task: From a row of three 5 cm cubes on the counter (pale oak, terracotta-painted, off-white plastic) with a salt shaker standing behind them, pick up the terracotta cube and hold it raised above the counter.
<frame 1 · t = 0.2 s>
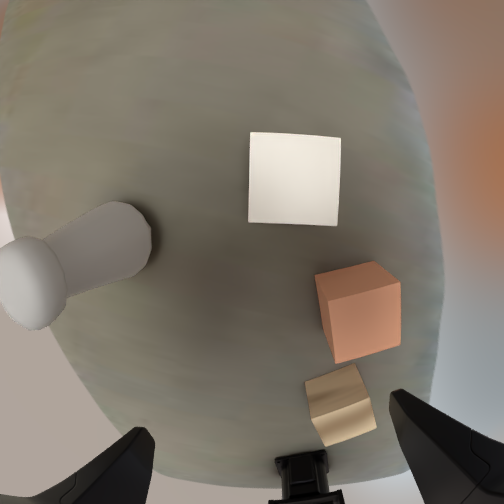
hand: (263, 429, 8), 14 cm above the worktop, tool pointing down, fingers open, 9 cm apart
oak cube: (335, 388, 24), on the worktop
off-white cube: (287, 179, 19), on the worktop
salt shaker: (130, 234, 21), on the worktop
terracotta cube: (348, 296, 22), on the worktop
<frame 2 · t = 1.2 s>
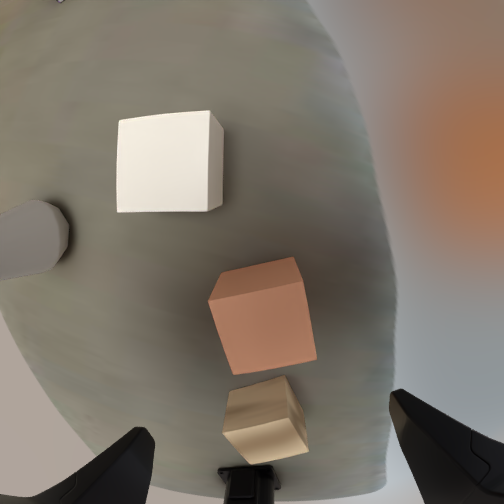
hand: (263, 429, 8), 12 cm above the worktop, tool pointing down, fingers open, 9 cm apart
oak cube: (267, 401, 22), on the worktop
off-white cube: (186, 167, 18), on the worktop
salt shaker: (55, 230, 19), on the worktop
terracotta cube: (265, 297, 19), on the worktop
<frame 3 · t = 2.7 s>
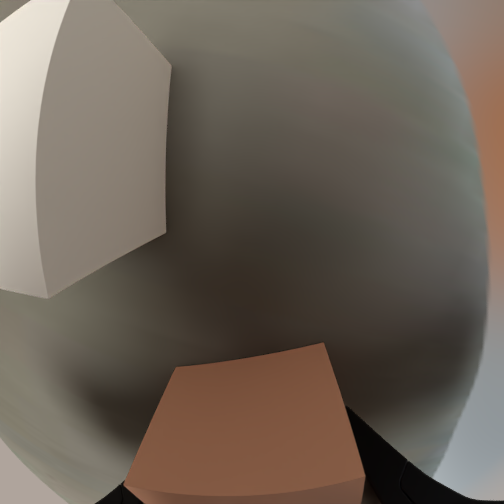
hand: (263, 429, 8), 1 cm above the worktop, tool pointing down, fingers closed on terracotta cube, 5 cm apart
off-white cube: (95, 153, 7), on the worktop
terracotta cube: (263, 409, 9), on the worktop, touching gripper
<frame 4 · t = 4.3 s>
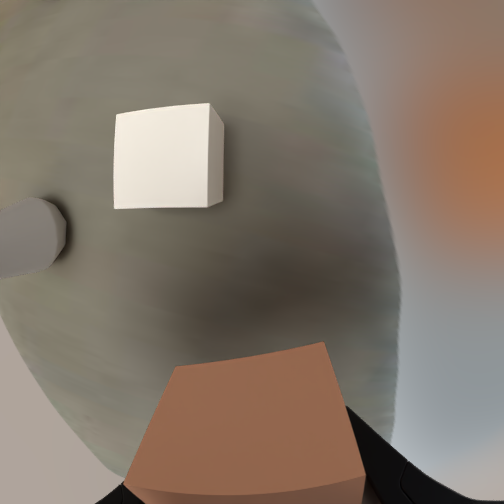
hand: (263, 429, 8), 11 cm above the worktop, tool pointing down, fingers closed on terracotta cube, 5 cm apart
off-white cube: (185, 163, 17), on the worktop
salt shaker: (52, 228, 19), on the worktop
terracotta cube: (263, 408, 9), point 10 cm above the worktop, touching gripper
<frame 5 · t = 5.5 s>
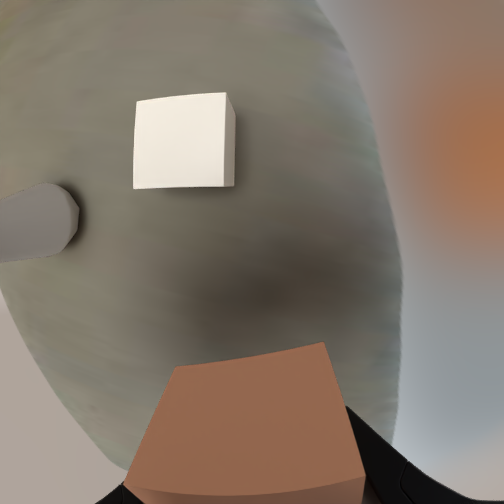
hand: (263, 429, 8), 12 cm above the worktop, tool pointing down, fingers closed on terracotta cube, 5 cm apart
off-white cube: (198, 150, 18), on the worktop
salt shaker: (64, 215, 20), on the worktop
terracotta cube: (263, 408, 9), point 11 cm above the worktop, touching gripper
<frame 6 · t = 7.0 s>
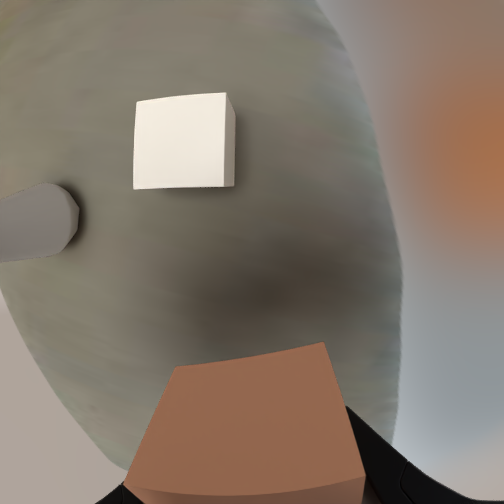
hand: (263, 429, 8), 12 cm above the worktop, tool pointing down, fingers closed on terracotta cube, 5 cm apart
off-white cube: (198, 150, 18), on the worktop
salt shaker: (64, 215, 20), on the worktop
terracotta cube: (263, 408, 9), point 11 cm above the worktop, touching gripper
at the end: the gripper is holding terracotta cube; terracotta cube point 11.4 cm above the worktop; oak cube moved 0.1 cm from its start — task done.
